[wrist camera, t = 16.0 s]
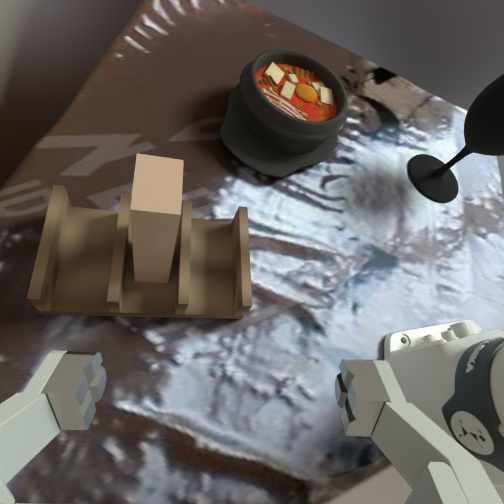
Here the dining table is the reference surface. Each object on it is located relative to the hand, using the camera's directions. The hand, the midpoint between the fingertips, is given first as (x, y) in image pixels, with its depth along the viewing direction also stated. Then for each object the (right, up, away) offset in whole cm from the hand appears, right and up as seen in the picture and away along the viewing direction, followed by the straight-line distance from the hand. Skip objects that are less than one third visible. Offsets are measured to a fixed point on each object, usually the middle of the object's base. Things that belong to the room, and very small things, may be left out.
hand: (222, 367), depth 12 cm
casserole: (+6, +24, +44) cm, 51 cm away
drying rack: (-11, +2, +28) cm, 30 cm away
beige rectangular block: (-10, +3, +27) cm, 29 cm away
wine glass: (+33, +17, +49) cm, 62 cm away
